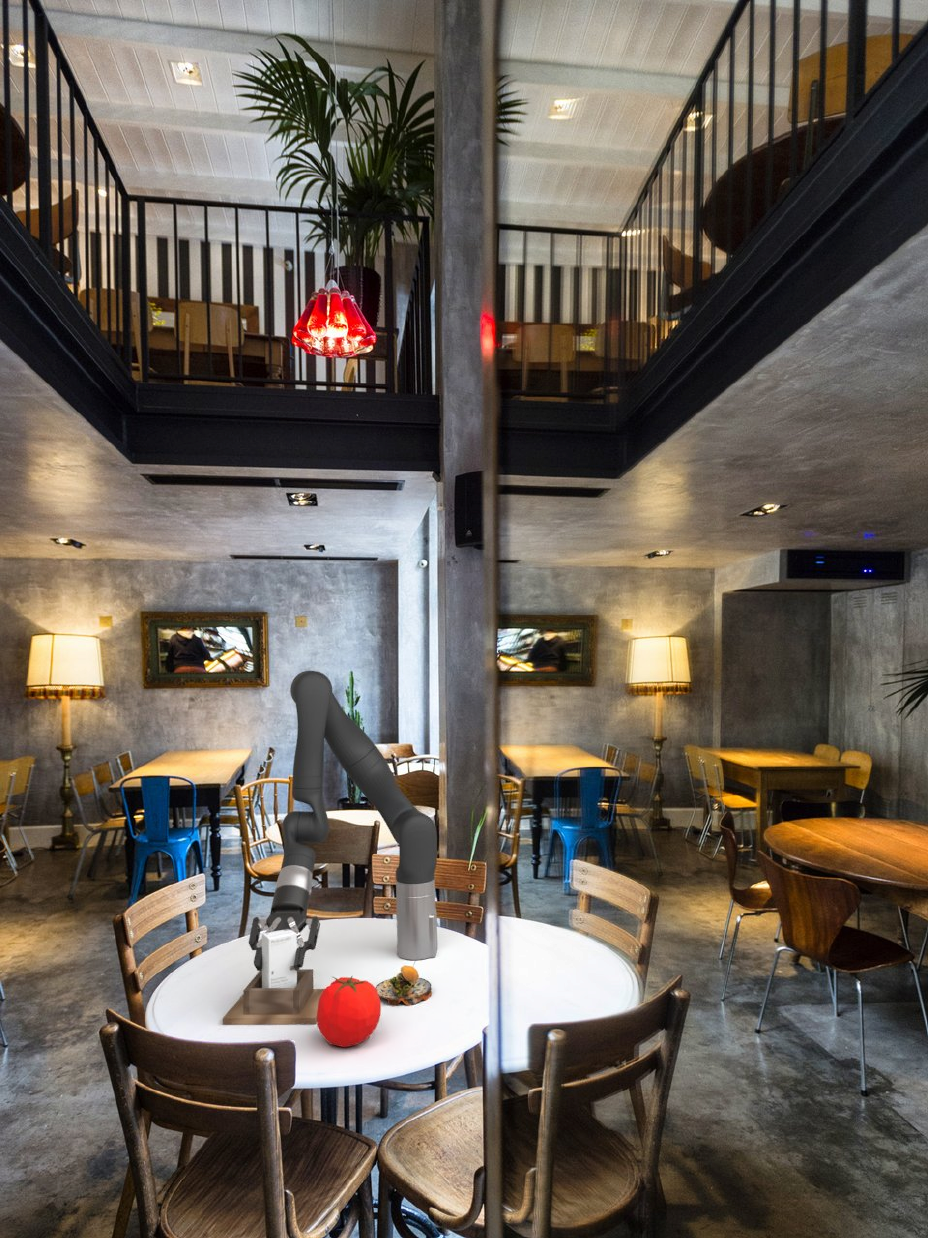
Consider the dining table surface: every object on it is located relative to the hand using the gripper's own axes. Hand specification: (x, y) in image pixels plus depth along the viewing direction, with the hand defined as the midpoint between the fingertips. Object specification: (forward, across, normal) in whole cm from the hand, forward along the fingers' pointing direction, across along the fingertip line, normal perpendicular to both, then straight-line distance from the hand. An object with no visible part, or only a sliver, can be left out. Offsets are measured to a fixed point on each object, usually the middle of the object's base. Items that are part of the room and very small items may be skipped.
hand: (277, 969), depth 155 cm
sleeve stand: (+5, 0, +7) cm, 8 cm away
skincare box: (+3, 0, +5) cm, 6 cm away
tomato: (+15, +17, -3) cm, 23 cm away
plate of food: (0, +24, +12) cm, 27 cm away
